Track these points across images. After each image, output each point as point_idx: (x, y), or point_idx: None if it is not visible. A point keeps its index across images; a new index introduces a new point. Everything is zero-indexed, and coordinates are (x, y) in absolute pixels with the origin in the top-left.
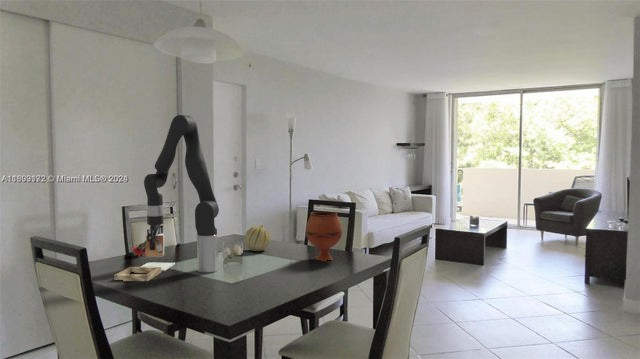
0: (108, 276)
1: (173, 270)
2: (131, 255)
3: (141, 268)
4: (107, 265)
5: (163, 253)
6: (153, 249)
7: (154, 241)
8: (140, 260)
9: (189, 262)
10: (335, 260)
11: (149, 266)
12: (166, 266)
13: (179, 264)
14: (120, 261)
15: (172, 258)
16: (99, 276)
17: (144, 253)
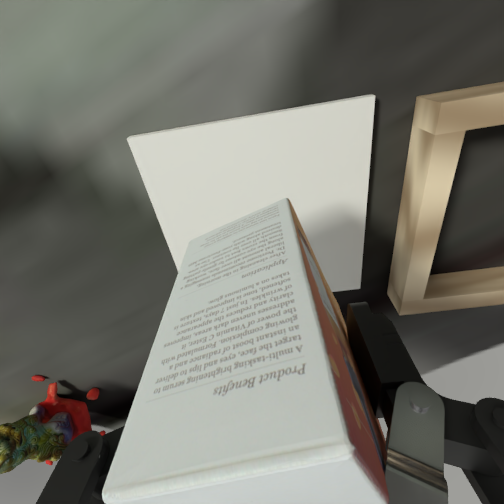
0: (466, 329)
1: (349, 10)
2: None
3: (433, 244)
4: None
5: (280, 212)
6: (364, 309)
7: (421, 393)
8: (147, 358)
9: (10, 18)
10: None
11: None
12: (262, 143)
13: (127, 86)
14: None
15: (6, 245)
16: (457, 355)
17: (56, 394)
